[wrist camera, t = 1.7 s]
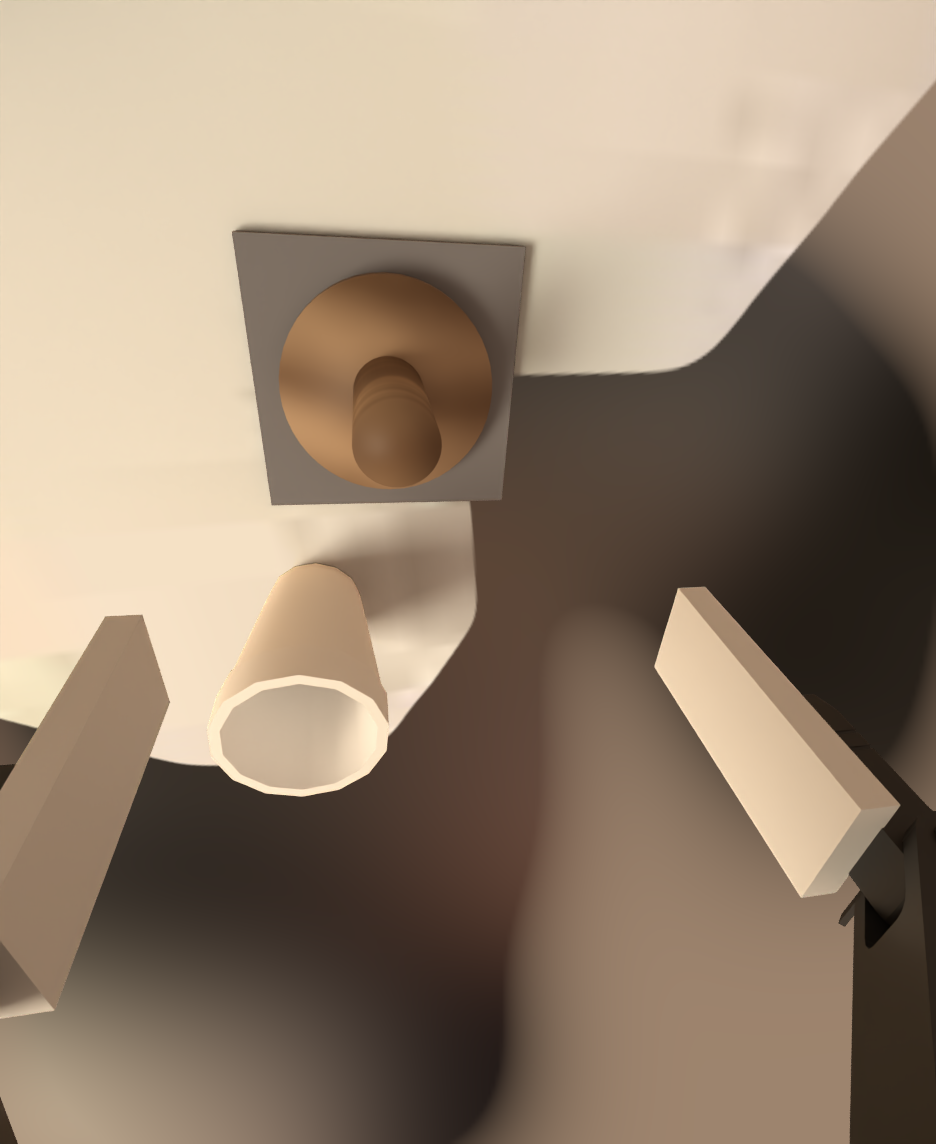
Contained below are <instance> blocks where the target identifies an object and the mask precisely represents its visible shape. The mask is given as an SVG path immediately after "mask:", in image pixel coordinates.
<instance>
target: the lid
mask: <svg viewBox="0 0 936 1144" xmlns="http://www.w3.org/2000/svg"><path fill="white" fill-rule="evenodd" d="M279 391H280V397H281V402H282V407H283V410H284V413H285V416H286V419H287V421H288V423H289V425H290V427H291V429H292V432H293V433H294V435H295V436H296V438H297V439H298V441H299V443H300V444H301V445H302V446H303V448H304V449H305V450H306V451H307V452H308V454H309V455H310V456H311V457H312V458H313V459H315V460H316V461H317V462H318V463H319V464H320V465H321V466H323V467H324V468H326V469H327V470H328V471H330V472H331V473H333V474H335V475H337V476H338V477H340V478H342V479H345V480H347V481H349V482H352V483H354V484H358V485H361V486H365V487H371V488H377V489H401V488H407V487H412V486H417V485H420V484H423V483H426V482H429V481H431V480H433V479H435V478H437V477H439V476H441V475H442V474H444V473H445V472H447V471H449V470H450V469H451V468H452V467H454V466H455V465H456V464H457V463H459V462H460V461H461V460H462V459H463V458H464V456H465V455H466V454H467V453H468V452H469V451H470V449H471V448H472V447H473V445H474V444H475V443H476V441H477V439H478V437H479V436H480V434H481V432H482V430H483V427H484V425H485V422H486V420H487V416H488V413H489V409H490V404H491V397H492V375H491V366H490V362H489V358H488V354H487V351H486V348H485V346H484V343H483V341H482V338H481V337H480V335H479V333H478V331H477V329H476V327H475V326H474V324H473V323H472V322H471V320H470V319H469V318H468V316H467V315H466V314H465V313H464V312H463V310H462V309H461V308H460V307H459V306H458V305H457V304H456V303H455V302H454V301H453V300H452V299H450V298H449V297H448V296H447V295H445V294H444V293H443V292H442V291H440V290H438V289H437V288H435V287H433V286H432V285H430V284H428V283H426V282H424V281H421V280H419V279H417V278H414V277H410V276H406V275H402V274H396V273H388V272H377V273H366V274H361V275H355V276H352V277H349V278H347V279H344V280H341V281H339V282H337V283H335V284H333V285H331V286H329V287H328V288H326V289H325V290H324V291H322V292H321V293H319V294H318V295H317V296H316V297H315V298H314V299H313V300H312V301H311V302H310V303H309V304H308V305H306V307H305V308H304V309H303V311H302V312H301V313H300V315H299V316H298V317H297V319H296V321H295V323H294V325H293V326H292V328H291V330H290V332H289V334H288V336H287V339H286V342H285V344H284V347H283V351H282V355H281V360H280V368H279Z"/></svg>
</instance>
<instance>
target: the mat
mask: <svg viewBox="0 0 936 1144" xmlns="http://www.w3.org/2000/svg"><path fill="white" fill-rule="evenodd" d="M232 236H233V243H234V249H235V256H236V263H237V270H238V277H239V284H240V291H241V297H242V304H243V311H244V318H245V325H246V332H247V339H248V345H249V352H250V359H251V366H252V373H253V380H254V387H255V393H256V400H257V407H258V414H259V421H260V428H261V435H262V441H263V448H264V455H265V462H266V469H267V476H268V483H269V489H270V496H271V503H272V505H304V504H350V503H395V502H440V501H481V500H482V501H485V500H502V492H503V481H504V470H505V460H506V449H507V439H508V428H509V417H510V407H511V396H512V385H513V375H514V364H515V354H516V343H517V333H518V322H519V311H520V301H521V290H522V279H523V269H524V258H525V248H526V247H524V246H509V245H490V244H471V243H452V242H433V241H414V240H395V239H376V238H357V237H338V236H319V235H300V234H281V233H262V232H243V231H232ZM377 272H388V273H396V274H402V275H406V276H410V277H414V278H417V279H419V280H421V281H424V282H426V283H428V284H430V285H432V286H433V287H435V288H437V289H438V290H440V291H442V292H443V293H444V294H445V295H447V296H448V297H449V298H450V299H452V300H453V301H454V302H455V303H456V304H457V305H458V306H459V307H460V308H461V309H462V310H463V312H464V313H465V314H466V315H467V316H468V318H469V319H470V320H471V322H472V323H473V324H474V326H475V327H476V329H477V331H478V333H479V335H480V337H481V338H482V341H483V343H484V346H485V348H486V351H487V354H488V358H489V362H490V366H491V375H492V397H491V404H490V409H489V413H488V416H487V420H486V422H485V425H484V427H483V430H482V432H481V434H480V436H479V437H478V439H477V441H476V443H475V444H474V445H473V447H472V448H471V449H470V451H469V452H468V453H467V454H466V455H465V456H464V458H463V459H462V460H461V461H460V462H459V463H457V464H456V465H455V466H454V467H452V468H451V469H450V470H449V471H447V472H445V473H444V474H442V475H441V476H439V477H437V478H435V479H433V480H431V481H429V482H426V483H423V484H420V485H417V486H412V487H407V488H401V489H377V488H371V487H365V486H361V485H358V484H354V483H352V482H349V481H347V480H345V479H342V478H340V477H338V476H337V475H335V474H333V473H331V472H330V471H328V470H327V469H326V468H324V467H323V466H321V465H320V464H319V463H318V462H317V461H316V460H315V459H313V458H312V457H311V456H310V455H309V454H308V452H307V451H306V450H305V449H304V448H303V446H302V445H301V444H300V443H299V441H298V439H297V438H296V436H295V435H294V433H293V432H292V429H291V427H290V425H289V423H288V421H287V419H286V416H285V413H284V410H283V407H282V402H281V397H280V391H279V368H280V360H281V355H282V351H283V347H284V344H285V342H286V339H287V336H288V334H289V332H290V330H291V328H292V326H293V325H294V323H295V321H296V319H297V317H298V316H299V315H300V313H301V312H302V311H303V309H304V308H305V307H306V305H308V304H309V303H310V302H311V301H312V300H313V299H314V298H315V297H316V296H317V295H318V294H319V293H321V292H322V291H324V290H325V289H326V288H328V287H329V286H331V285H333V284H335V283H337V282H339V281H341V280H344V279H347V278H349V277H352V276H355V275H361V274H366V273H377Z"/></svg>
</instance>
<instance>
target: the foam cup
mask: <svg viewBox="0 0 936 1144" xmlns="http://www.w3.org/2000/svg"><path fill="white" fill-rule="evenodd" d="M388 726H389V721H388V704H387V693H386V691H385V690H384V688H383V686H382V684H381V681H380V677H379V673H378V668H377V664H376V660H375V656H374V651H373V647H372V643H371V639H370V634H369V630H368V626H367V621H366V617H365V613H364V609H363V604H362V600H361V597H360V593H359V591H358V589H357V587H356V586H355V584H354V582H353V580H352V578H350V577H349V576H347V575H346V574H345V573H343V572H342V571H340V570H339V569H337V568H336V567H331V566H326V565H322V564H317V563H313V564H307V565H301V566H295V567H294V568H292V569H290V570H289V571H287V572H286V573H284V574H283V575H281V576H279V578H278V580H277V581H276V583H275V585H274V587H273V589H272V590H271V592H270V594H269V596H268V598H267V600H266V602H265V604H264V606H263V608H262V611H261V613H260V615H259V617H258V619H257V621H256V623H255V625H254V627H253V629H252V632H251V634H250V636H249V638H248V640H247V642H246V644H245V646H244V648H243V650H242V652H241V655H240V657H239V659H238V661H237V663H236V665H235V667H234V669H233V670H231V672H230V673H229V675H228V677H227V679H226V680H225V682H224V684H223V686H222V687H221V689H220V691H219V693H218V695H217V696H216V700H215V703H214V707H213V710H212V714H211V717H210V721H209V724H208V728H207V733H208V739H209V746H210V752H211V757H212V758H213V759H214V761H215V762H216V763H217V764H218V765H219V766H220V767H221V768H222V769H223V770H224V771H225V772H226V773H227V774H228V775H229V776H230V777H231V778H232V779H233V780H235V781H237V782H240V783H242V784H245V785H247V786H249V787H252V788H254V789H257V790H259V791H262V792H264V793H270V794H281V795H293V796H308V795H313V794H318V793H323V792H328V791H333V790H339V789H341V788H343V787H345V786H346V785H348V784H350V783H352V782H354V781H355V780H357V779H359V778H361V777H363V776H365V775H366V774H368V773H369V772H370V771H371V770H372V768H373V767H374V766H375V765H376V763H377V762H378V761H379V759H380V758H381V757H382V756H383V754H384V753H385V752H386V750H387V738H388Z"/></svg>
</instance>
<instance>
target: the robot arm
mask: <svg viewBox="0 0 936 1144" xmlns="http://www.w3.org/2000/svg"><path fill="white" fill-rule="evenodd" d="M655 668H656V670H657V672H658V673H659V675H660V676H661V678H662V679H663V681H664V683H665V684H666V686H667V687H668V689H669V690H670V692H671V694H672V695H673V697H674V698H675V700H676V702H677V703H678V705H679V706H680V708H681V709H682V711H683V712H684V714H685V716H686V717H687V719H688V720H689V722H690V723H691V725H692V727H693V728H694V730H695V731H696V733H697V735H698V736H699V738H700V739H701V741H702V742H703V744H704V745H705V747H706V749H707V750H708V752H709V753H710V755H711V757H712V758H713V760H714V761H715V763H716V764H717V766H718V768H719V769H720V771H721V772H722V774H723V776H724V777H725V779H726V780H727V782H728V783H729V785H730V787H731V788H732V790H733V791H734V793H735V794H736V796H737V798H738V799H739V800H740V802H741V804H742V805H743V807H744V808H745V810H746V812H747V813H748V815H749V816H750V818H751V819H752V821H753V823H754V824H755V826H756V827H757V829H758V830H759V832H760V834H761V835H762V837H763V839H764V840H765V842H766V843H767V845H768V846H769V848H770V850H771V851H772V853H773V854H774V856H775V857H776V859H777V861H778V862H779V864H780V865H781V867H782V868H783V870H784V872H785V873H786V875H787V876H788V878H789V879H790V881H791V883H792V884H793V886H794V887H795V889H796V890H797V892H798V894H799V895H800V897H801V898H804V897H810V896H817V895H823V894H830V893H836V892H837V891H838V889H839V888H840V886H841V885H842V884H843V882H844V881H845V880H846V878H847V877H848V876H849V875H850V876H851V878H852V879H853V881H854V882H855V883H856V885H857V886H858V887H859V889H860V891H859V893H858V894H857V895H856V896H855V898H854V899H853V900H852V902H851V903H850V904H849V905H848V907H847V908H846V909H845V910H844V912H843V913H842V915H841V918H840V920H839V924H841V925H843V926H846V925H847V923H848V922H849V921H850V919H851V918H852V917H853V916H854V957H853V1005H852V1007H853V1008H852V1056H851V1058H852V1059H851V1104H850V1105H851V1106H850V1144H936V811H932V810H931V809H930V808H929V807H928V806H927V805H926V804H925V803H924V802H923V801H922V800H921V799H920V798H919V797H918V795H917V794H916V793H915V792H914V791H913V790H912V789H911V788H910V787H909V786H908V785H907V784H906V783H905V782H904V781H903V780H902V778H901V777H900V776H899V775H898V774H897V773H896V772H895V771H894V770H893V769H892V768H891V767H890V766H889V765H888V764H887V762H886V761H885V760H884V759H883V758H882V757H881V756H880V755H879V754H878V753H877V752H876V751H875V750H874V749H871V748H870V744H869V743H868V742H867V741H866V740H865V739H864V738H863V737H862V736H861V735H860V734H859V733H856V732H855V728H854V727H852V725H851V724H850V723H849V722H848V721H847V720H846V719H845V718H844V717H843V716H842V715H841V714H840V712H839V711H838V710H836V709H835V708H833V707H832V706H830V705H829V704H827V703H826V702H825V701H823V700H822V699H820V698H819V697H817V696H816V695H814V694H811V695H801V693H800V692H799V691H798V690H797V689H796V688H795V687H794V686H793V685H792V683H791V682H790V681H789V680H788V679H787V678H786V677H785V676H784V675H783V673H782V672H781V671H780V670H779V669H778V668H777V667H776V666H775V664H774V663H773V662H772V661H771V660H770V659H769V658H768V657H767V656H766V655H765V653H764V652H763V651H762V650H761V649H760V648H759V647H758V646H757V644H756V643H755V642H754V641H753V640H752V639H751V638H750V637H749V636H748V634H747V633H746V632H745V631H744V630H743V629H742V628H741V627H740V625H739V624H738V623H737V622H736V621H735V620H734V619H733V618H732V617H731V615H730V614H729V613H728V612H727V611H726V610H725V609H724V608H723V607H722V605H721V604H720V603H719V602H718V601H717V600H716V599H715V598H714V596H713V595H712V594H711V593H710V592H709V591H708V590H707V589H706V588H705V587H692V588H678V591H677V594H676V598H675V601H674V605H673V607H672V611H671V615H670V617H669V620H668V624H667V627H666V630H665V634H664V637H663V640H662V644H661V647H660V650H659V653H658V657H657V660H656V664H655ZM169 703H170V701H169V698H168V695H167V692H166V688H165V685H164V682H163V679H162V676H161V673H160V669H159V666H158V663H157V660H156V657H155V654H154V650H153V647H152V644H151V641H150V638H149V634H148V631H147V628H146V625H145V622H144V619H143V615H127V616H107V617H105V618H104V620H103V621H102V623H101V625H100V626H99V628H98V630H97V631H96V633H95V635H94V636H93V638H92V640H91V641H90V643H89V645H88V646H87V648H86V650H85V651H84V653H83V655H82V656H81V658H80V659H79V661H78V663H77V664H76V666H75V668H74V669H73V671H72V673H71V674H70V676H69V678H68V679H67V681H66V683H65V684H64V686H63V688H62V689H61V691H60V693H59V694H58V696H57V697H56V699H55V701H54V702H53V704H52V706H51V707H50V709H49V711H48V712H47V714H46V716H45V717H44V719H43V721H42V722H41V724H40V726H39V727H38V729H37V731H36V732H35V734H34V736H33V737H32V739H31V740H30V742H29V744H28V745H27V747H26V749H25V750H24V752H23V754H22V756H21V757H20V759H19V760H18V762H17V764H12V765H0V1018H7V1017H14V1016H20V1015H27V1014H33V1013H40V1012H46V1011H53V1010H55V1008H56V1005H57V1002H58V1000H59V997H60V994H61V992H62V989H63V986H64V984H65V981H66V978H67V975H68V973H69V970H70V967H71V965H72V962H73V960H74V957H75V954H76V952H77V949H78V946H79V944H80V941H81V938H82V935H83V933H84V930H85V928H86V925H87V922H88V920H89V917H90V914H91V911H92V909H93V906H94V904H95V901H96V898H97V895H98V893H99V890H100V887H101V885H102V882H103V879H104V877H105V874H106V871H107V869H108V866H109V863H110V861H111V858H112V855H113V853H114V850H115V847H116V845H117V842H118V839H119V837H120V834H121V831H122V829H123V826H124V823H125V821H126V818H127V815H128V813H129V810H130V807H131V805H132V802H133V799H134V797H135V794H136V791H137V789H138V786H139V783H140V781H141V778H142V775H143V773H144V770H145V767H146V765H147V762H148V759H149V757H150V754H151V751H152V749H153V746H154V743H155V741H156V738H157V735H158V732H159V730H160V727H161V724H162V722H163V719H164V716H165V714H166V711H167V708H168V706H169ZM0 1144H18V1143H17V1140H16V1138H15V1136H14V1132H13V1130H12V1127H11V1124H10V1122H9V1119H8V1116H7V1114H6V1111H5V1108H4V1106H3V1103H2V1101H1V1098H0Z"/></svg>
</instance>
